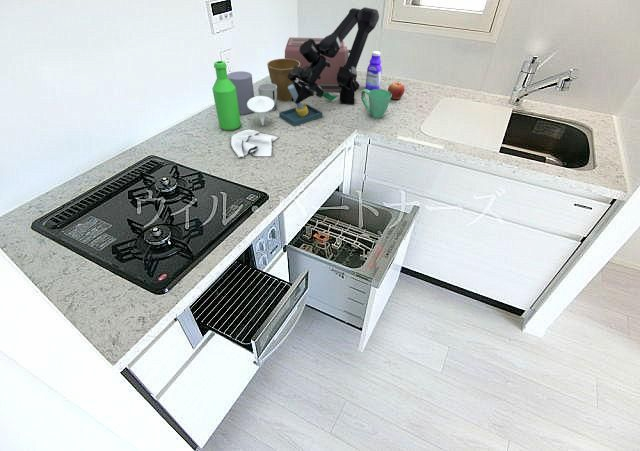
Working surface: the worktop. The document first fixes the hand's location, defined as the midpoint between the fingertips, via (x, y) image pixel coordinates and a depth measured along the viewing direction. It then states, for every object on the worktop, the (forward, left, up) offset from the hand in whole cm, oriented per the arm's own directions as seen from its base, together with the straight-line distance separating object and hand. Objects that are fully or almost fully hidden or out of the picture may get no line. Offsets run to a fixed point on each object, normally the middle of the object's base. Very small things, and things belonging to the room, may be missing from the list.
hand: (293, 102), depth 141 cm
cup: (+13, -9, -8) cm, 18 cm away
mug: (-34, -10, -8) cm, 36 cm away
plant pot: (+8, -22, -8) cm, 25 cm away
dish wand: (-3, -4, -6) cm, 8 cm away
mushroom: (+12, +8, -8) cm, 16 cm away
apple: (-45, -31, -8) cm, 55 cm away
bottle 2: (-34, -42, -8) cm, 55 cm away
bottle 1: (+25, +11, -8) cm, 28 cm away
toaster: (-5, -43, -8) cm, 44 cm away
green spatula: (-10, -25, -8) cm, 28 cm away
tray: (-2, -3, -7) cm, 8 cm away
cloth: (+12, +25, -8) cm, 29 cm away
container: (+24, -6, -8) cm, 26 cm away
